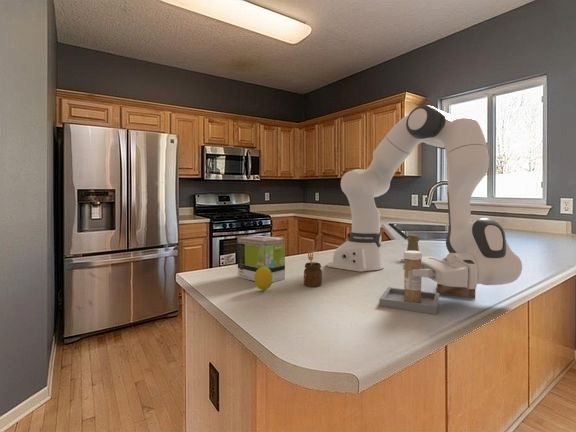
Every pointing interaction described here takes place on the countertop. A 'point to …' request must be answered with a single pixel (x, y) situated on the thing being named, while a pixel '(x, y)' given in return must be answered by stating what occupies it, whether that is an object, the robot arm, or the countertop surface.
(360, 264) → the robot arm
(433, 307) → the tray
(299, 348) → the countertop surface
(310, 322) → the countertop surface
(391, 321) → the countertop surface
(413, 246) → the olive tapered container
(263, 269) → the lemon
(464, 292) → the square wooden box
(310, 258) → the utensil holder
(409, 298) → the sprinkles bottle
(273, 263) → the tea box
